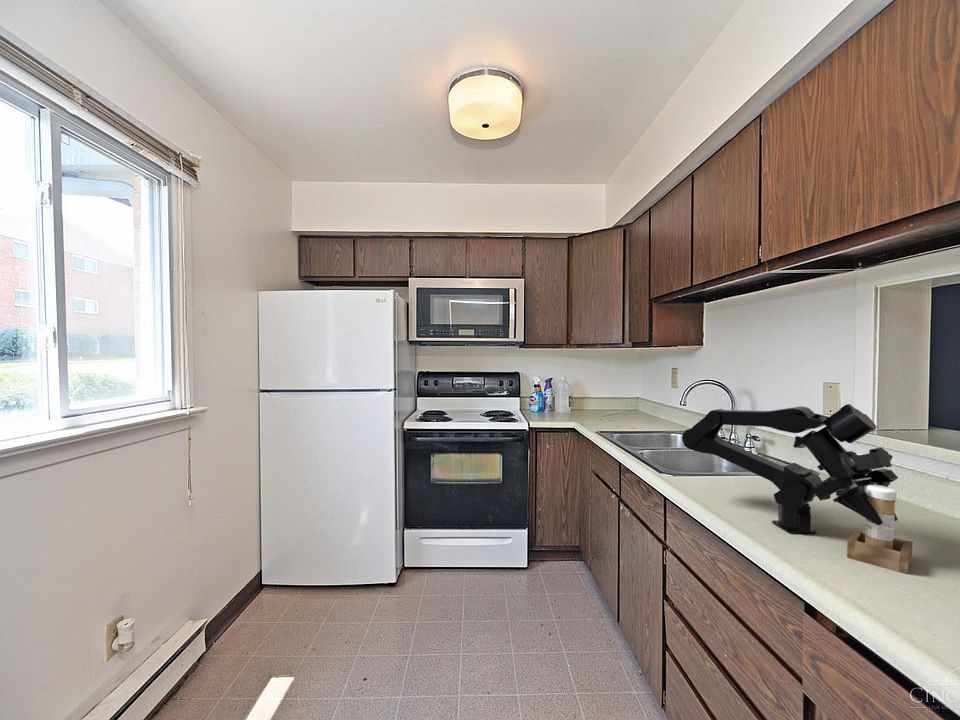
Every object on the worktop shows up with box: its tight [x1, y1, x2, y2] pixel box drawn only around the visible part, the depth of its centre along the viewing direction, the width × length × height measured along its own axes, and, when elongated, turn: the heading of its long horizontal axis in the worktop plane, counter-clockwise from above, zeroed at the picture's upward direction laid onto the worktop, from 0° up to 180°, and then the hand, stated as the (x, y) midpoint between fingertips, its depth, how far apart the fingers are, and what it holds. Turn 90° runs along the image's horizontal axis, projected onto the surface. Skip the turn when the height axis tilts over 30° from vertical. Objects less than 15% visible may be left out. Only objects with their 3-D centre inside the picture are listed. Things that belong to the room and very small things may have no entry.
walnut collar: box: [846, 528, 914, 575], centre depth 92 cm, size 9×9×4 cm
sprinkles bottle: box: [864, 485, 897, 550], centre depth 91 cm, size 5×5×14 cm
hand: (888, 522), depth 90 cm, fingers open, 4 cm apart
